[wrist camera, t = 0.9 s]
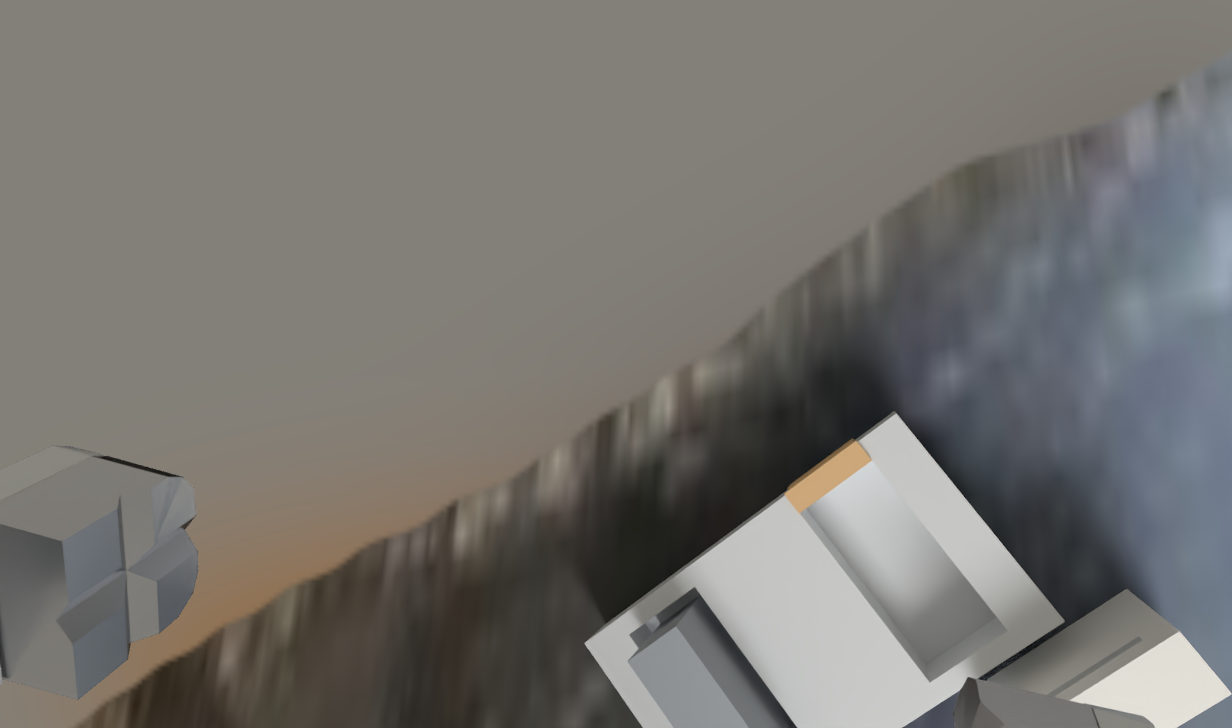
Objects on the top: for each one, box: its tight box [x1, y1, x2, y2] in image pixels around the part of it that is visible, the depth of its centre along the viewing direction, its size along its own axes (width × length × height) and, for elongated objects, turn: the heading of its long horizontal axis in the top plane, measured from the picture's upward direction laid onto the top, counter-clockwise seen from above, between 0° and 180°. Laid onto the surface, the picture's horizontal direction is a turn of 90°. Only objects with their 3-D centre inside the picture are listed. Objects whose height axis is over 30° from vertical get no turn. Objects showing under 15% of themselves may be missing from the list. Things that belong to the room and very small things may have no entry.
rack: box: [585, 411, 1065, 728], centre depth 45 cm, size 12×20×8 cm, turn 128°
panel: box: [985, 589, 1232, 728], centre depth 42 cm, size 9×3×8 cm, turn 128°
